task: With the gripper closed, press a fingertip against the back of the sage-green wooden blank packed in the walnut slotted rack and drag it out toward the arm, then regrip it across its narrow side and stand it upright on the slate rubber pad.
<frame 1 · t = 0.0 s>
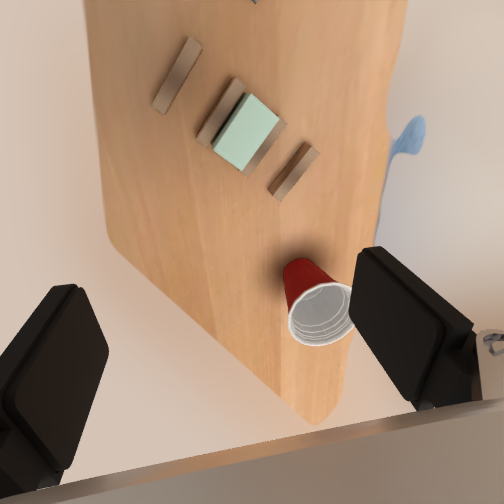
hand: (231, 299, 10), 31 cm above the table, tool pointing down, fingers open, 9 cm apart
plastic cup: (298, 270, 49), on the table
blank: (239, 128, 36), on the table
rack: (239, 128, 36), on the table
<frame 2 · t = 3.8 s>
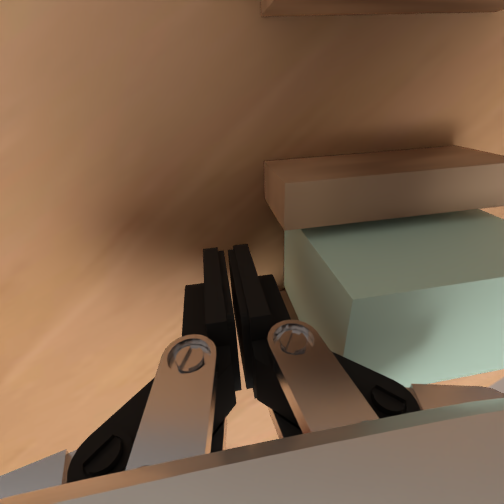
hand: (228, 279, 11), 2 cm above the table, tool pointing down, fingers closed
blank: (357, 240, 13), on the table, touching gripper
rack: (350, 240, 13), on the table
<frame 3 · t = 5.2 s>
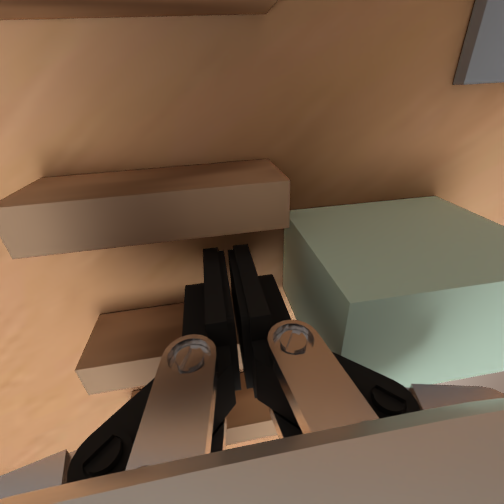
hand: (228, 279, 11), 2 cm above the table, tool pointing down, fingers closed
blank: (355, 243, 13), on the table, touching gripper
rack: (179, 259, 12), on the table
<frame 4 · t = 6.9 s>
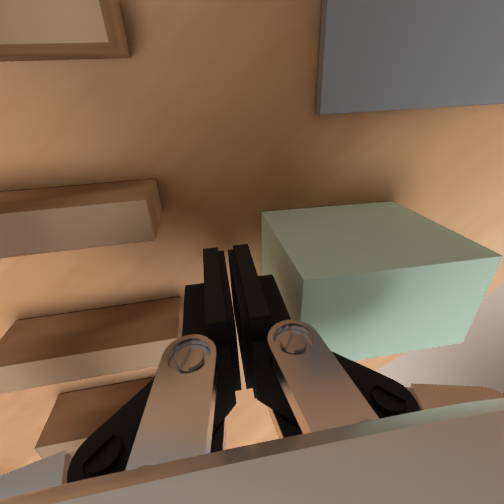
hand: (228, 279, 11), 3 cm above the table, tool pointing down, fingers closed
blank: (325, 241, 15), on the table, touching gripper
rack: (86, 268, 13), on the table
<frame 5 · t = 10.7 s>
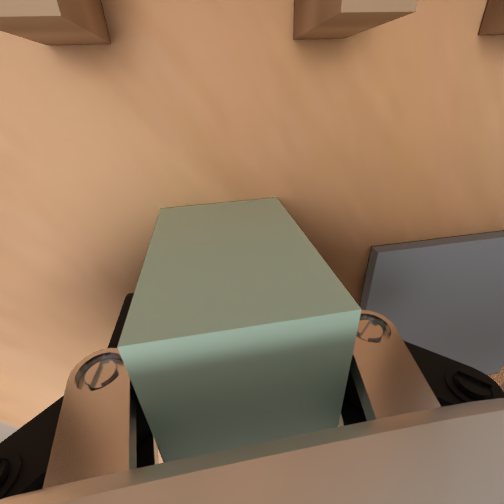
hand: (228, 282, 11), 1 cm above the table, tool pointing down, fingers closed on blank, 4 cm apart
blank: (228, 284, 11), on the table, touching gripper
pad: (443, 319, 15), on the table
when the fingers open (3 cm above the table, at t = 15.4 s): blank drops 2 cm, resting on pad.
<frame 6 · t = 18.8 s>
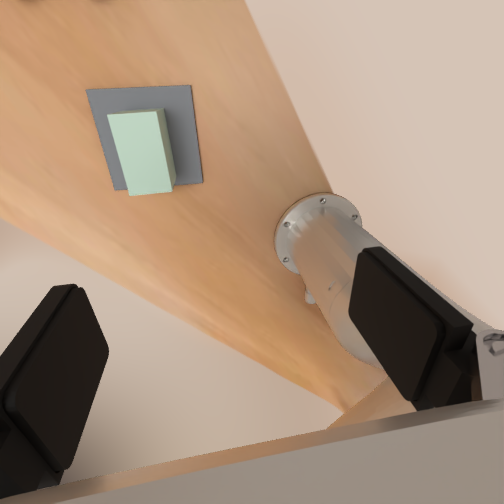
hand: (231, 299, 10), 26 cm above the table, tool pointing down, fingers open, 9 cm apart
blank: (151, 145, 30), resting on pad
pad: (150, 140, 31), on the table
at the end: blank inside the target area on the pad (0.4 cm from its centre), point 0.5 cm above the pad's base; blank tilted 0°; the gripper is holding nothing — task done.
